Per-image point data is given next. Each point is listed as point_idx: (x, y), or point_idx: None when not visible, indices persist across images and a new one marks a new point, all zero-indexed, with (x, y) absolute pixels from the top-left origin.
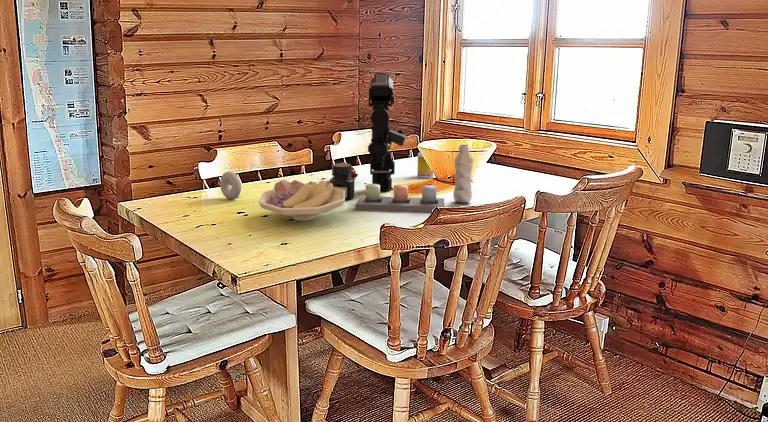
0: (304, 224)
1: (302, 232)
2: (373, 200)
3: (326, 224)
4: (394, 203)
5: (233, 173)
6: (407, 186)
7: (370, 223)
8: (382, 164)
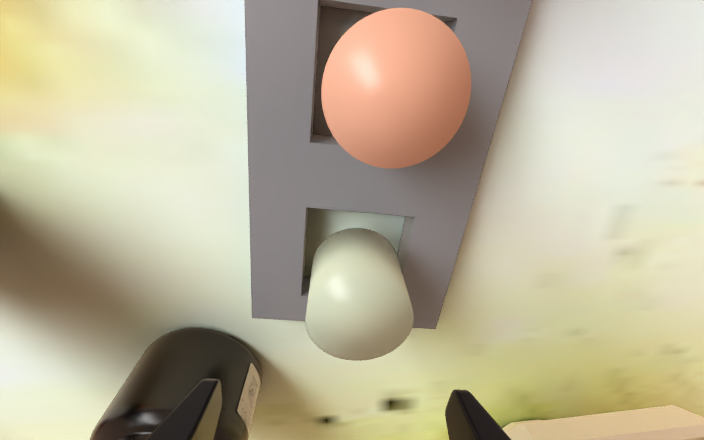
0: None
1: None
2: (304, 249)
3: (624, 381)
4: None
5: None
6: (419, 18)
7: (678, 244)
8: (204, 421)
